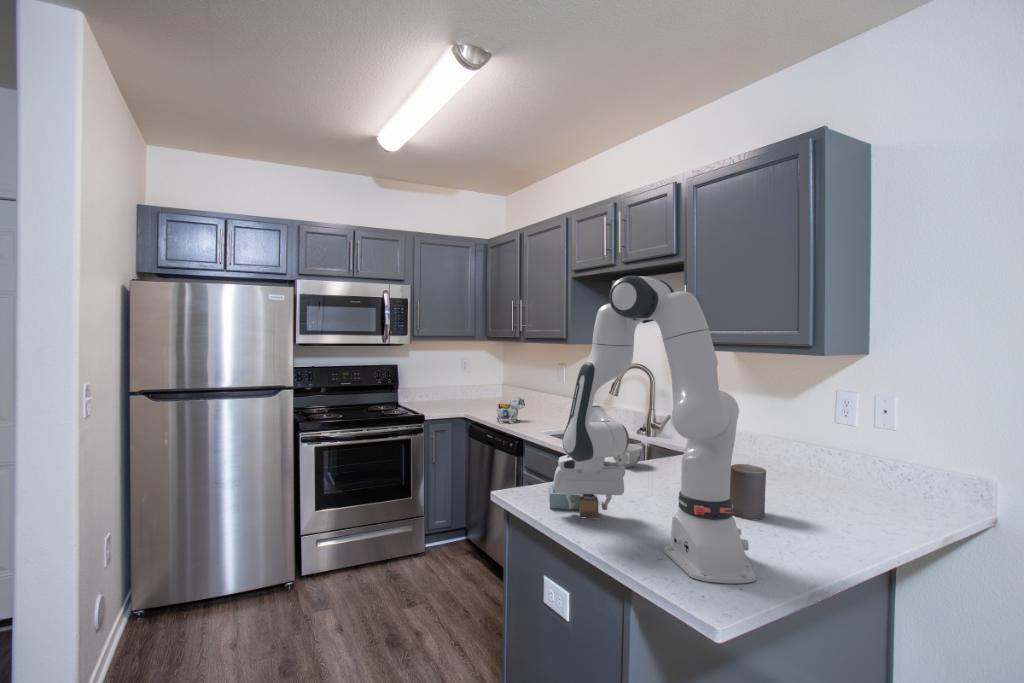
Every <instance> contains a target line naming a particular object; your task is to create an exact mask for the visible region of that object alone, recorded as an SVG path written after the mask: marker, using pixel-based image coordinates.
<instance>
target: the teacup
mask: <svg viewBox="0 0 1024 683" xmlns="http://www.w3.org/2000/svg"><path fill="white" fill-rule="evenodd" d="M643 447H644V446H642V445H639V444H635V443H633V444H632V443H628V447H627V449H626V451H625V452H624V453H623V454H622V455H618V456H612V458H613V459H614V462H620V463H621V464H623V465H624V466H625V469H626V468H628V469H629V468H634V467H635V466H636V464H638V462H639V461H640V460H641V457H642V454H643V449H644V448H643ZM620 466H622V465H620Z"/></svg>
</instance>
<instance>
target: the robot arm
mask: <svg viewBox="0 0 1024 683" xmlns="http://www.w3.org/2000/svg"><path fill="white" fill-rule="evenodd" d="M608 298H609V299H608V301H609V302H608V303H606V304H604V305H602V306H601V307H600V308H599V309H598V310H597V314H596V316H595V322H594V326H593V333H592V334H593V335H592V344H591V350H590V353H589V356H588V359H587V360H586V362H585V363H584V364H582V366H581V367H580V368H579V371H578V375H577V378H576V383H575V388H574V391H573V392H574V393H573V397H572V402H571V407H570V413H569V415H568V421H567V425H566V426H565V429H564V431H563V435H562V447H563V450H564V451H565V453H566V455H562V456H560V457H559V458H558V460H557V462H558V466H557V467H556V469H555V472H554V478H553V485H554V486H553V487H554V491H555V492H556V493H565V495H566V498H567V500H568V502H569V509H568V510H570V509H574V501H571V500H570V498H569V497H571V494H594V495H596V496H598V495H599V496H601V495H603V496H605V497H606V498H605V500H604V501H602V502H601V510H604V511H605V510H606V511H607V510H608V505H609V503H610V502H611V500H612V496H622V495H623V494H624V493H625V481H624V477H625V475H626V467H625V466H624V465H623V464H621V463H620V462H616V461H605V460H606V459H605V458H611V457H612V458H613V456H618V455H622V454H623V453H624V452H625V451H626V449H627V447H628V444H629V442H630V440H629V438H630V437H629V433H628V430H627V428H626V427H625V425H624V424H623V423H621V422H620V421H616V420H615V419H613V418H612V417H611V416H609V415H608V414H607V412H606V410H605V408H604V407H603V406H601V405H593V404H594V400H595V396H596V393H597V392H598V390H599V389H601V387H602V386H604V385H606V384H607V383H609V382H610V381H613V380H615V379H617V378H619V377H621V376H622V375H624V374H625V373H626V372H627V371H629V369H630V367H631V366H632V364H633V363H632V362H633V359H634V351H635V350H634V349H635V335H636V334H635V333H636V329H637V326H638V325H640V323H642V324H647V323H651V322H654V321H655V322H656V324H657V325H658V327H659V331H660V333H661V334H660V335H661V338H662V342H663V346H664V350H665V354H666V357H667V362H668V366H669V370H670V377H671V389H672V392H671V393H672V402H673V405H672V406H673V408H672V412H671V423H672V426H673V428H674V430H675V431H676V432H677V434H678V435H680V436H681V437H683V438H685V439H687V440H686V445H685V449H684V453H683V454H682V457H681V471H680V472H681V475H680V490H679V492H678V497H677V501H678V511H677V512H676V513H675V514H674V515H673V516H672V519H671V528H670V529H671V530H670V541H669V542H670V543H669V544H667V545H665V546H664V547H663V553H665V555H666V556H668V557H669V558H670V559H671V560H672V561H673V562H674V563H675V564H676V565H677V566H678V567H679V568H680V569H681V570H682V571H684V573H686V574H687V576H689V577H690V578H691V579H694V580H698V581H703V582H709V583H715V584H716V583H717V584H746V583H753V582H755V581H757V576H756V573H755V571H754V569H753V567H752V565H751V563H750V561H749V559H748V557H747V555H746V552H745V551H749V549H750V547H749V546H750V544H749V540H748V539H742V538H741V536H742V529H741V528H738V525H737V524H736V519H735V518H734V515H733V503H732V498H731V497H730V477H731V466H732V459H733V452H734V447H735V441H736V434H737V427H738V426H737V425H738V419H739V414H740V407H739V404H738V402H737V400H736V399H735V398H734V397H733V396H732V395H731V394H729V392H726V391H724V390H721V389H720V388H719V377H718V361H719V360H718V358H717V354H716V350H715V347H714V343H713V339H712V335H711V333H710V329H709V325H708V322H707V320H706V316H705V314H704V311H703V309H702V307H701V305H700V303H699V301H698V298H697V297H696V296H695V294H693V293H691V292H689V291H683V290H679V291H677V290H676V291H675V290H674V288H673V287H672V286H671V285H670V284H669V283H667V282H665V281H663V280H661V279H655V278H652V277H650V276H645V275H644V276H643V275H642V276H641V275H640V276H639V275H626V276H622V277H621V278H619V279H617V280H616V281H615V282H613V284H612V286H611V288H610V290H609V295H608ZM620 465H622V466H620Z"/></svg>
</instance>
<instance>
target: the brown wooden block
mask: <svg viewBox="0 0 1024 683" xmlns="http://www.w3.org/2000/svg"><path fill="white" fill-rule="evenodd" d="M599 505H600V504H599V498H598V495H597V494H583V495H580V494H579V510H578V513H580V514H579V517H586V518H585V519H591V518H598V519H599Z"/></svg>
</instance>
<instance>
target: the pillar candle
mask: <svg viewBox="0 0 1024 683" xmlns="http://www.w3.org/2000/svg"><path fill="white" fill-rule="evenodd" d="M766 481H767V470H766V469H765V468H764V467H761V466H757V465H753V464H749V463H747V464H744V463H735V464H731V477H730V497H731V498H732V503H733V517H737V518H739V517H740V519H744V518H745V520H750V519H758V520H762V518H763V519H764V518H765V511H766V485H767V484H766V483H767V482H766Z"/></svg>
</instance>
